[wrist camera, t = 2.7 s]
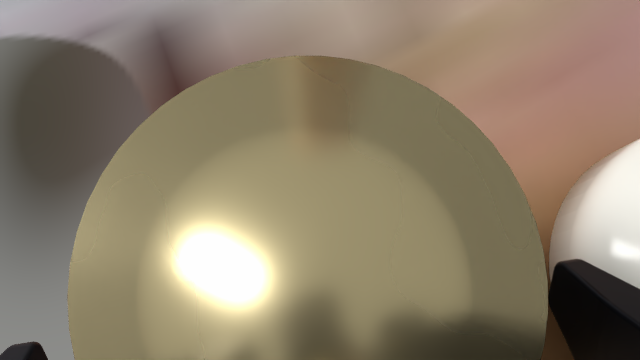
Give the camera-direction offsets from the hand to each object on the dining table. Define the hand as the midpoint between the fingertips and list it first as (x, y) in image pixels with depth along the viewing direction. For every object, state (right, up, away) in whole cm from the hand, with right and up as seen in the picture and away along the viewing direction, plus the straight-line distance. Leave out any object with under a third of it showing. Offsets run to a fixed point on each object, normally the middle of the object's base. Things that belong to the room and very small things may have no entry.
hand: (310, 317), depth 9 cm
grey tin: (-1, -2, +8) cm, 8 cm away
